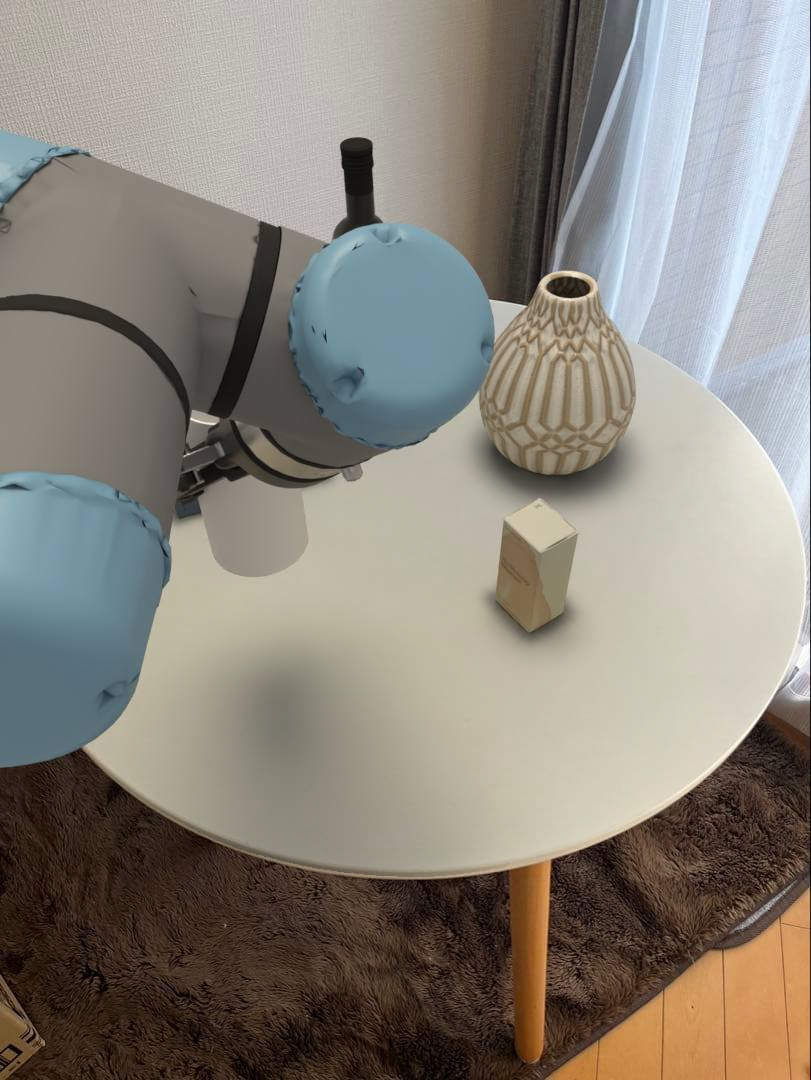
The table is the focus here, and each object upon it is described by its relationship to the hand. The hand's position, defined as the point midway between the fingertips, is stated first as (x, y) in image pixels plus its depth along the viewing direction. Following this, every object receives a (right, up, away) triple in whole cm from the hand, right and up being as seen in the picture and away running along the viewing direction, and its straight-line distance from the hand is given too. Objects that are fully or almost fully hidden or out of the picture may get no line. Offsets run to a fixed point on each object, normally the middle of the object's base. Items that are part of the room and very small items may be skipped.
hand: (231, 466), depth 66 cm
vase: (+29, +4, +32) cm, 43 cm away
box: (+24, -12, +16) cm, 32 cm away
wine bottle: (+9, +10, +38) cm, 40 cm away
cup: (+2, -6, +2) cm, 6 cm away
